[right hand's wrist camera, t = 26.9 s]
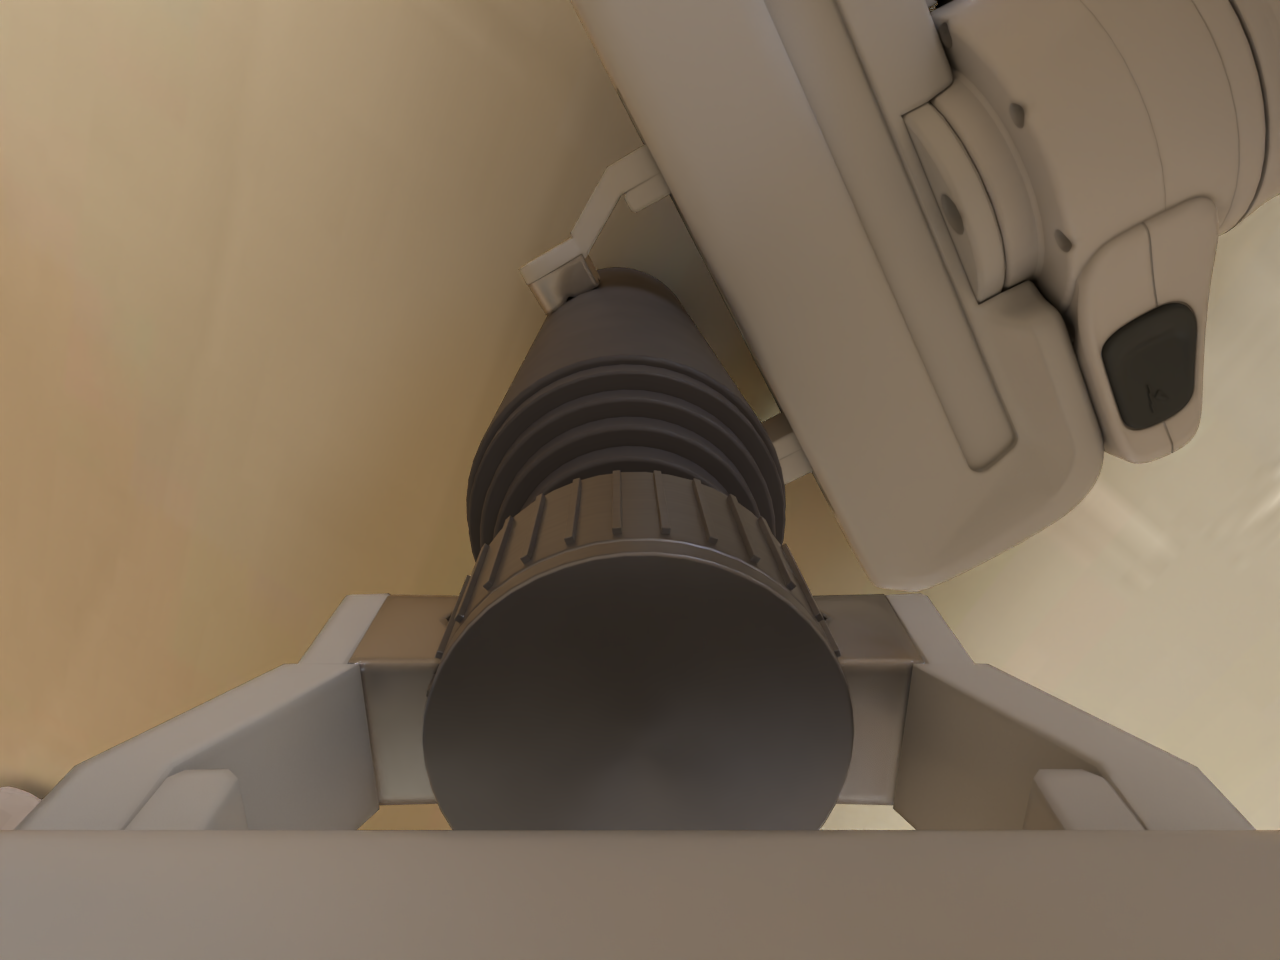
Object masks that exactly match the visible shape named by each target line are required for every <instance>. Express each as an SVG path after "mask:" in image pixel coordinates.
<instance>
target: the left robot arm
mask: <svg viewBox="0 0 1280 960" xmlns="http://www.w3.org/2000/svg"><path fill="white" fill-rule="evenodd" d="M570 1H571V3H572V5H573V7H574V9H575V11H576V13H577V15H578V17H579V19H580V21H581V23H582V25H583V27H584V29H585V31H586V33H587V35H588V37H589V39H590V41H591V42H592V44H593V46H594V48H595V50H596V52H597V54H598V56H599V58H600V60H601V62H602V64H603V66H604V68H605V70H606V72H607V74H608V76H609V78H610V80H611V81H612V83H613V85H614V87H615V89H616V91H617V93H618V95H619V97H620V99H621V101H622V103H623V105H624V107H625V109H626V111H627V113H628V115H629V117H630V119H631V121H632V122H633V124H634V126H635V128H636V130H637V132H638V134H639V136H640V138H641V140H642V142H643V144H644V145H643V146H641V147H640V148H638V149H636V150H635V151H633V152H631V153H630V154H628V155H626V156H625V157H623V158H621V159H620V160H618V161H616V162H615V163H613V164H611V165H610V166H608V167H607V168H606V170H605V171H604V173H603V175H602V177H601V179H600V180H599V182H598V184H597V186H596V188H595V189H594V191H593V193H592V195H591V197H590V199H589V200H588V202H587V204H586V206H585V208H584V209H583V211H582V213H581V215H580V217H579V218H578V220H577V222H576V224H575V226H574V228H573V229H572V231H571V235H572V237H570V238H568V239H567V240H565V241H563V242H562V243H560V244H558V245H557V246H555V247H553V248H551V249H550V250H548V251H546V252H545V253H543V254H541V255H540V256H538V257H536V258H535V259H533V260H531V261H530V262H528V263H527V264H525V265H524V266H522V267H521V268H520V269H518V270H519V271H520V273H521V275H522V277H523V279H524V280H525V282H526V284H527V285H528V287H529V288H530V290H531V292H532V293H533V295H534V297H535V298H536V300H537V301H538V303H539V305H540V306H541V308H542V310H543V311H544V313H545V314H546V315H547V314H549V313H551V312H553V311H555V310H557V309H558V308H560V307H561V306H562V305H564V304H565V303H566V301H567V299H568V298H569V297H576V296H578V295H580V294H583V293H585V292H588V291H590V290H592V289H594V288H595V287H597V286H599V282H600V280H601V278H600V276H599V274H598V272H597V270H596V268H595V266H594V265H593V263H592V261H591V259H590V257H589V255H588V254H589V252H590V250H591V248H592V246H593V245H594V243H595V241H596V239H597V238H598V236H599V234H600V232H601V231H602V229H603V227H604V225H605V224H606V222H607V220H608V218H609V216H610V215H611V213H612V211H613V209H614V208H615V206H616V204H617V202H618V201H619V199H620V197H621V195H623V194H625V193H626V196H625V201H626V203H627V204H628V206H629V208H630V210H631V211H632V212H636V213H637V212H639V211H641V210H642V209H644V208H646V207H648V206H650V205H651V204H653V203H655V202H657V201H658V200H660V199H662V198H664V197H666V196H667V195H670V197H671V199H672V200H673V202H674V204H675V206H676V208H677V210H678V212H679V214H680V216H681V218H682V220H683V222H684V224H685V226H686V228H687V230H688V232H689V234H690V236H691V238H692V239H693V241H694V243H695V245H696V247H697V249H698V251H699V253H700V255H701V257H702V259H703V261H704V263H705V265H706V267H707V269H708V271H709V273H710V275H711V277H712V278H713V280H714V282H715V284H716V286H717V288H718V290H719V292H720V294H721V296H722V298H723V300H724V302H725V304H726V306H727V308H728V310H729V312H730V314H731V316H732V317H733V319H734V321H735V323H736V325H737V327H738V329H739V331H740V333H741V335H742V337H743V339H744V341H745V343H746V345H747V347H748V349H749V351H750V353H751V355H752V356H753V358H754V360H755V362H756V364H757V366H758V368H759V370H760V372H761V374H762V376H763V378H764V380H765V382H766V384H767V386H768V388H769V390H770V392H771V394H772V395H773V397H774V399H775V401H776V403H777V405H778V407H779V409H780V411H781V413H779V414H778V415H776V416H774V417H772V418H770V419H768V420H766V421H765V422H763V423H761V424H762V425H763V427H764V428H765V430H766V431H767V433H768V435H769V437H770V439H771V441H772V443H773V445H774V447H775V450H776V453H777V456H778V459H779V462H780V465H781V468H782V474H783V479H784V485H786V484H788V483H790V482H792V481H794V480H796V479H798V478H800V477H802V476H804V475H806V474H808V473H810V472H812V474H813V475H814V477H815V479H816V481H817V483H818V485H819V487H820V489H821V491H822V493H823V495H824V497H825V499H826V501H827V503H828V505H829V507H830V509H831V511H832V513H833V514H834V516H835V518H836V520H837V522H838V524H839V526H840V528H841V530H842V532H843V534H844V536H845V538H846V540H847V542H848V544H849V545H850V547H851V549H852V551H853V553H854V555H855V557H856V559H857V561H858V562H859V564H860V566H861V568H862V569H863V571H864V572H865V574H866V575H867V577H868V579H869V580H870V582H871V583H872V584H873V585H874V586H876V587H879V588H884V589H890V590H898V591H907V592H917V591H922V590H925V589H928V588H931V587H934V586H936V585H938V584H941V583H943V582H946V581H948V580H950V579H952V578H954V577H956V576H958V575H960V574H962V573H965V572H967V571H969V570H971V569H973V568H975V567H977V566H979V565H980V564H982V563H984V562H986V561H988V560H990V559H992V558H994V557H996V556H998V555H1000V554H1001V553H1003V552H1005V551H1007V550H1009V549H1011V548H1013V547H1014V546H1016V545H1018V544H1020V543H1022V542H1023V541H1025V540H1027V539H1028V538H1030V537H1032V536H1033V535H1035V534H1037V533H1039V532H1040V531H1042V530H1044V529H1045V528H1047V527H1048V526H1050V525H1052V524H1053V523H1055V522H1056V521H1058V520H1059V519H1061V518H1062V517H1063V516H1065V515H1066V514H1067V513H1069V512H1070V511H1071V510H1072V509H1074V508H1075V507H1076V506H1077V505H1078V504H1079V503H1080V502H1081V501H1082V500H1083V499H1084V498H1085V497H1086V496H1087V494H1088V493H1089V492H1090V490H1091V489H1092V487H1093V486H1094V484H1095V483H1096V481H1097V479H1098V476H1099V474H1100V471H1101V468H1102V464H1103V458H1104V451H1105V452H1107V453H1109V454H1111V455H1114V456H1116V457H1119V458H1121V459H1123V460H1126V461H1129V462H1132V463H1137V464H1141V463H1147V462H1151V461H1154V460H1157V459H1160V458H1162V457H1164V456H1167V455H1169V454H1171V453H1173V452H1175V451H1177V450H1179V449H1180V448H1182V447H1183V446H1185V445H1186V444H1187V443H1189V442H1190V441H1191V439H1192V438H1193V437H1194V435H1195V434H1196V432H1197V430H1198V427H1199V423H1200V418H1201V410H1202V390H1203V365H1204V346H1205V331H1206V320H1207V309H1208V300H1209V292H1210V284H1211V277H1212V271H1213V265H1214V260H1215V254H1216V249H1217V243H1218V236H1220V235H1222V234H1224V233H1226V232H1228V231H1229V230H1231V229H1232V228H1234V227H1235V226H1236V225H1237V224H1238V223H1240V222H1241V221H1242V220H1244V219H1245V218H1246V217H1247V216H1249V215H1250V214H1251V213H1252V212H1254V211H1255V210H1256V209H1258V208H1259V207H1260V206H1262V205H1263V204H1264V203H1266V202H1267V201H1269V200H1270V199H1272V198H1273V197H1275V196H1277V195H1279V194H1280V0H570ZM936 1H937V2H938V5H937V6H935V7H936V9H935V10H933V11H931V12H929V9H928V8H929V7H931V6H933V5H934V4H936V3H937V2H936Z"/></svg>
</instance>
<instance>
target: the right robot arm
mask: <svg viewBox="0 0 1280 960" xmlns="http://www.w3.org/2000/svg"><path fill="white" fill-rule="evenodd" d="M458 597H459V596H448V595H390V594H389V593H388V594H355V595H347V596H346V597H345V598H344V599H343V600H342V602H341V603H340V604H339V606H338V607H337V609H336V610H335V611H334V613H333V614H332V616H331V617H330V618H329V620H328V621H327V623H326V624H325V625H324V627H323V628H322V630H321V631H320V633H319V634H318V635H317V637H316V638H315V640H314V641H313V642H312V644H311V645H310V647H309V648H308V649H307V651H306V652H305V654H304V655H303V656H302V658H301V659H300V661H299V662H298V664H283V665H281V666H279V667H277V668H275V669H273V670H271V671H269V672H267V673H265V674H262V675H260V676H258V677H256V678H254V679H252V680H250V681H248V682H246V683H244V684H242V685H240V686H238V687H236V688H234V689H232V690H230V691H228V692H225V693H223V694H221V695H219V696H217V697H215V698H213V699H211V700H209V701H207V702H205V703H203V704H201V705H199V706H197V707H195V708H193V709H191V710H189V711H186V712H184V713H182V714H180V715H178V716H176V717H174V718H172V719H170V720H168V721H166V722H164V723H162V724H160V725H158V726H156V727H154V728H152V729H149V730H147V731H145V732H143V733H141V734H139V735H137V736H135V737H133V738H131V739H129V740H127V741H125V742H123V743H121V744H119V745H117V746H115V747H113V748H110V749H108V750H106V751H104V752H102V753H100V754H98V755H96V756H94V757H92V758H90V759H88V760H86V761H84V762H82V763H80V764H78V765H76V766H74V767H73V768H72V769H71V770H70V771H69V772H68V773H67V774H66V775H65V777H64V778H63V779H62V780H61V781H60V782H59V783H58V784H57V785H56V786H55V787H54V788H53V789H52V790H51V791H50V792H49V793H48V794H47V795H46V796H45V797H44V798H43V799H42V800H41V801H40V802H39V804H38V805H37V806H36V807H35V808H34V809H33V810H32V811H31V812H30V813H29V814H28V815H27V816H26V817H25V818H24V819H23V820H22V821H21V822H20V823H19V824H18V825H17V826H16V827H15V828H14V829H13V830H0V960H1280V830H1256V829H1255V828H1254V827H1253V826H1252V825H1251V824H1250V823H1249V822H1248V821H1247V820H1246V818H1245V817H1244V816H1243V815H1242V814H1241V813H1240V812H1239V811H1238V810H1237V809H1236V808H1235V807H1234V806H1233V805H1232V804H1231V803H1230V801H1229V800H1228V799H1227V798H1226V797H1225V796H1224V795H1223V794H1222V793H1221V792H1220V791H1219V790H1218V789H1217V788H1216V787H1215V785H1214V784H1213V783H1212V782H1211V781H1210V780H1209V779H1208V778H1207V777H1206V776H1205V775H1204V774H1203V773H1202V772H1201V771H1200V770H1199V768H1198V767H1196V766H1194V765H1192V764H1190V763H1188V762H1186V761H1184V760H1182V759H1180V758H1178V757H1176V756H1174V755H1172V754H1170V753H1168V752H1166V751H1164V750H1162V749H1160V748H1157V747H1155V746H1153V745H1151V744H1149V743H1147V742H1145V741H1143V740H1141V739H1139V738H1137V737H1135V736H1133V735H1131V734H1129V733H1127V732H1125V731H1123V730H1121V729H1119V728H1117V727H1115V726H1113V725H1111V724H1109V723H1107V722H1105V721H1103V720H1101V719H1099V718H1097V717H1095V716H1093V715H1091V714H1089V713H1087V712H1084V711H1082V710H1080V709H1078V708H1076V707H1074V706H1072V705H1070V704H1068V703H1066V702H1064V701H1062V700H1060V699H1058V698H1056V697H1054V696H1052V695H1050V694H1048V693H1046V692H1044V691H1042V690H1040V689H1038V688H1036V687H1034V686H1032V685H1030V684H1028V683H1026V682H1024V681H1022V680H1020V679H1018V678H1016V677H1013V676H1011V675H1009V674H1007V673H1005V672H1003V671H1001V670H999V669H997V668H995V667H993V666H991V665H989V664H975V663H974V662H973V660H972V659H971V658H970V656H969V655H968V653H967V652H966V650H965V649H964V648H963V646H962V645H961V643H960V642H959V640H958V639H957V638H956V636H955V635H954V633H953V632H952V630H951V629H950V628H949V626H948V625H947V623H946V622H945V621H944V619H943V618H942V616H941V615H940V613H939V612H938V611H937V609H936V608H935V606H934V605H933V603H932V602H931V601H930V599H929V598H928V596H926V595H923V594H921V593H918V594H896V595H884V594H870V595H828V596H813V598H814V600H815V602H816V604H817V606H818V608H819V610H820V612H821V614H822V616H823V618H824V620H825V622H826V624H827V626H828V628H829V630H830V632H831V634H832V636H833V638H834V640H835V642H836V644H837V646H838V648H839V651H840V653H841V656H840V657H837V659H838V661H839V663H840V666H841V669H842V671H843V674H844V676H845V679H846V681H847V684H848V688H849V693H850V697H851V702H852V707H853V719H854V740H853V750H852V758H851V762H850V766H849V770H848V774H847V778H846V781H845V784H844V786H843V788H842V791H841V793H840V796H839V798H838V800H837V803H836V804H868V805H894V806H893V809H894V810H895V811H896V812H898V813H899V814H900V815H901V816H902V817H903V818H904V819H905V820H906V821H907V822H908V823H909V824H911V825H912V826H913V827H914V828H915V829H916V830H357V829H358V828H359V827H360V826H361V825H362V824H364V823H365V822H366V821H367V820H368V819H369V818H370V817H371V816H372V815H373V814H375V813H376V812H377V811H378V810H379V805H404V804H438V803H437V801H436V799H435V796H434V794H433V792H432V789H431V786H430V782H429V779H428V775H427V771H426V767H425V762H424V753H423V743H422V736H423V717H424V712H425V707H426V702H427V698H428V697H426V693H427V688H428V686H429V683H430V681H431V678H432V675H433V674H436V672H437V669H438V666H439V664H440V661H441V659H438V658H435V655H436V653H437V650H438V647H439V645H440V642H441V640H442V637H443V635H444V632H445V630H446V627H447V625H448V622H449V620H450V617H451V615H452V612H453V610H454V607H455V605H456V602H457V600H458Z"/></svg>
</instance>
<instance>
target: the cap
mask: <svg viewBox="0 0 1280 960" xmlns="http://www.w3.org/2000/svg"><path fill="white" fill-rule="evenodd" d="M840 656H841V653H840V651H839V648H838V646H837V644H836V642H835V640H834V638H833V636H832V634H831V632H830V630H829V628H828V626H827V624H826V622H825V620H824V618H823V616H822V614H821V612H820V610H819V608H818V606H817V604H816V602H815V600H814V598H813V596H812V594H811V592H810V590H809V588H808V586H807V584H806V582H805V580H804V578H803V576H802V574H801V572H800V570H799V568H798V566H797V564H796V562H795V560H794V558H793V556H792V554H791V552H790V550H789V548H788V546H787V545H786V544H784V545H782V546H781V545H780V543H779V542H778V541H777V539H776V538H775V537H774V535H773V534H772V532H771V530H770V528H769V526H768V524H767V522H766V520H765V519H764V518H763V517H762V516H760V517H759V518H757V517H756V516H755V515H754V514H753V513H752V512H750V511H749V510H748V509H746V508H745V507H744V506H742V505H741V504H739V503H738V501H737V498H736V497H735V496H734V495H732V494H729V496H727V495H725V494H723V493H721V492H719V491H717V490H716V489H714V488H711V487H708V486H706V485H703V484H701V481H700V480H698V479H695V478H693V480H689V479H685V478H681V477H677V476H673V475H668V474H661V471H656V470H654V472H653V473H650V472H620V470H616V471H613V474H605V475H598V476H594V477H591V478H587V479H583V480H581V479H580V478H577V479H574V480H573V483H571V484H568V485H566V486H563V487H561V488H558V489H556V490H554V491H552V492H550V493H548V494H547V495H545V496H544V494H543V493H542V494H540V495H538V496H537V497H536V500H535V501H534V502H533V503H531V504H530V505H529V506H527V507H526V508H525V509H523V510H522V511H521V512H519V513H518V514H517V515H515V516H514V517H512V516H509V517H508V518H507V519H506V520H505V523H504V526H503V528H502V529H501V530H500V531H499V533H498V534H497V535H496V537H495V538H494V539H493V541H492V542H491V543H490V545H487V544H484V545H483V547H482V548H481V551H480V553H479V556H478V558H477V561H476V563H475V566H474V569H473V571H472V574H471V576H469V575H467V577H466V579H465V582H464V584H463V587H462V589H461V592H460V594H459V597H458V600H457V602H456V605H455V607H454V610H453V612H452V615H451V617H450V620H449V622H448V625H447V627H446V630H445V632H444V635H443V637H442V640H441V642H440V645H439V647H438V650H437V653H436V655H435V658H438V659H441V661H440V664H439V666H438V669H437V672H436V674H433V675H432V678H431V681H430V683H429V686H428V688H427V693H426V697H428V698H427V702H426V707H425V712H424V717H423V736H422V743H423V753H424V762H425V767H426V771H427V775H428V779H429V782H430V786H431V789H432V792H433V794H434V796H435V799H436V801H437V803H438V806H439V808H440V810H441V812H442V814H443V815H444V817H445V818H446V820H447V822H448V823H449V825H450V827H451V828H452V830H819V829H820V828H821V827H822V826H823V824H824V823H825V821H826V820H827V818H828V816H829V815H830V813H831V811H832V809H833V808H834V806H835V804H836V803H837V800H838V798H839V796H840V793H841V791H842V788H843V786H844V784H845V781H846V778H847V774H848V770H849V766H850V762H851V758H852V750H853V740H854V719H853V707H852V702H851V697H850V693H849V688H848V684H847V681H846V679H845V676H844V674H843V671H842V669H841V666H840V663H839V661H838V659H837V657H840Z"/></svg>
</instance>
